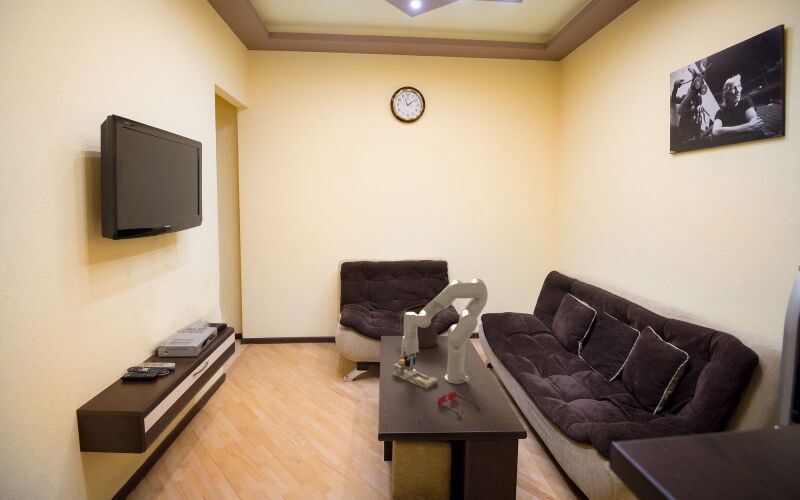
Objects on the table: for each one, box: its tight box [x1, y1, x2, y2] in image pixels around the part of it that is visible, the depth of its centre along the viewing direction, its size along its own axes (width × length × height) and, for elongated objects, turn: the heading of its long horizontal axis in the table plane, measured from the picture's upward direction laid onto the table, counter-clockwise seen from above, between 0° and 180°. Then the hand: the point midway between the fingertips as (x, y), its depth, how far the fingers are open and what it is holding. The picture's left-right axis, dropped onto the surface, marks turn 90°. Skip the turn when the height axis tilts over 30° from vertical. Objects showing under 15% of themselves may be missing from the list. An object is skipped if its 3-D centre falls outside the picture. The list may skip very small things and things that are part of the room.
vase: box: [399, 303, 439, 349], centre depth 291 cm, size 27×27×30 cm
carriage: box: [404, 354, 417, 376], centre depth 232 cm, size 5×5×12 cm
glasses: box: [436, 391, 481, 421], centre depth 197 cm, size 14×16×5 cm
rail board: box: [392, 362, 438, 390], centre depth 230 cm, size 26×9×6 cm, turn 44°
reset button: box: [398, 358, 405, 366], centre depth 237 cm, size 4×4×3 cm
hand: (410, 364), depth 232 cm, fingers open, 4 cm apart
